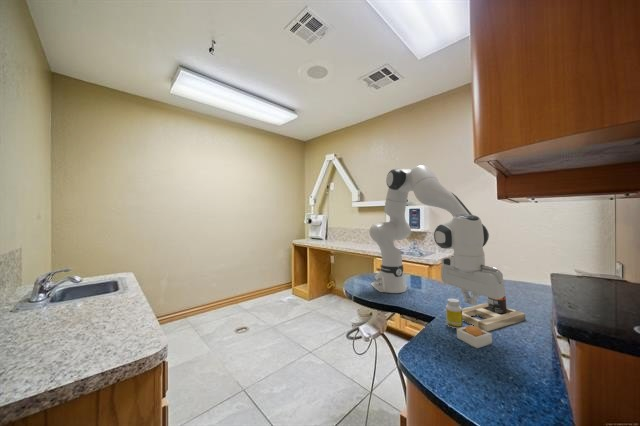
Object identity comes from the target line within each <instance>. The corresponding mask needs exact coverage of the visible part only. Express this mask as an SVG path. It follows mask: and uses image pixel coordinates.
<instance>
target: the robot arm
mask: <svg viewBox="0 0 640 426" xmlns="http://www.w3.org/2000/svg"><path fill="white" fill-rule="evenodd" d="M385 182H386V186H387V188H388V189H387V193H386V197H385V202H384V213H385V214H386V215H387V216H388V217H389V221H386V222H382V221H381V222H378V223H375V224H372V225H371V227H370V228H369V236H370V238H371V239H372V241H374V242H375V243H376V244H377V245H378V247H379V250H380V254H381V265H379V267H380V271H378V272H377V273H376V274H375V275H374V281H373V282H371V283H370V286H372V287H373V288H374V289H375V290H377V291H378V292H380V293H388V294H389V293H390V294H400V293H405V292H407V289H408V285H407V283H406V276H405V273H404V265H403V258H402V257H403V256H402V255H403V254H402V251H401V250H400V249H399V248H398V247H396V245H395V244H394V241H401V240H405V239H408V238H409V237H410V235H411V233H412V228H411V226H410V224H409V223H408V222H407V220H406V215H405V214H406V207H407V202H408V196H409V192H413V193H414V196H415V198H416V199H417V201H419V202H420V203H421V204H423V205H424V206H429V207H435V208H439V209H442V210H444V211H446V212H449V213H450V214H451V216H452V219H451V220H449V221H448V222H445V223H442V224H439V225H437V227H436V228H435V229H434V232H433V238H434V242H435V244H436V245H437V246H438V247H439V248H441V249H445V250H453V255H452V256H448V257H443V258H441V264H442V266H441V268H440V269H441V271H440V272H441V276H440V277H441V281H442V283H444V284H445V285H446V284H447V285H450V286H453V287H455V288H458V289H460V291H461V293H462V295H463V298H464V303H466V304H470V305H471V306H475V305H478V303H477V300H478V299H479V297H480V296H483V297H487V298H488V297H489V298H492V299H501V298H503V297H504V296H506V290H505V288H506V287H505V284H504V278H503V275H504V274H503V273H502V272H501V271H500V270H499V269H498V268H497V267H494V266H492V267H491V266H489V265H486V257H485V251H484V248H483V247H485V246H486V244H487V242H488V241H489V238H490V235H489V231H488V229H487V228H486V226H485V225H484V224H483V223H482V220H481V218H480V217H479V216H477V215H474V214H473V213H471V211H470V210H469V209H468V208H467V207H466V205H465V204H464V202H462V201H461V200H460V198H459V197H458V196H457V195H456V194H455V193H453V192H451V191H450V190H448V189H447V188H446V187H445V186H443V184H442V183H441V182H440V181H439V179H438V177H437V176H436V174H435V173H434V172H433V171H432V169H430V168H429V166H427V165H424V164H422V165H421V164H420V165H417V166H415V167H413V168H401V169H400V168H394V169H391V170H389V172H388V173H387V175H386V181H385ZM469 292H470V293H469ZM470 294H471V295H470Z"/></svg>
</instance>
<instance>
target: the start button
mask: <svg viewBox="0 0 640 426" xmlns="http://www.w3.org/2000/svg"><path fill="white" fill-rule="evenodd" d="M465 327H466V332H467V333H469V334H471V335H473V336H475V337H477V336H480V335H482V329H480V328H479V327H476V326H473V325H472V326H470V325H466V326H465Z"/></svg>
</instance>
